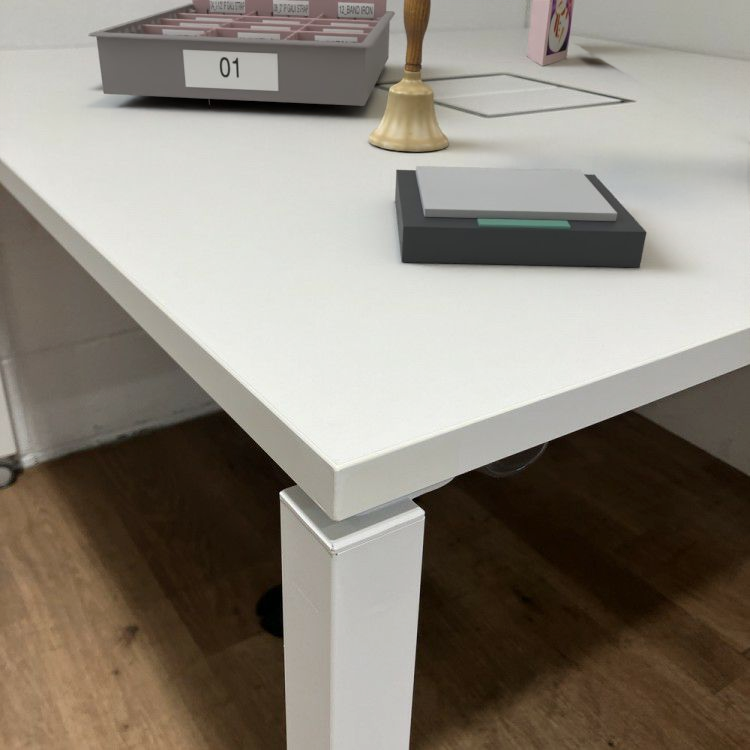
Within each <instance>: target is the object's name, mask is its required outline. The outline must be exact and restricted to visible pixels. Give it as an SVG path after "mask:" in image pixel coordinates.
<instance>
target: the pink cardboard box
mask: <svg viewBox="0 0 750 750" xmlns="http://www.w3.org/2000/svg"><path fill="white" fill-rule="evenodd" d="M574 5H575V0H532V5H531V14H530V22H529V30H528V31H529V32H528V41H527V50H526V57H527V56H528V57H527V58H529V59H530V58H531V59H530V60H532V61H534V62H535V63H537V64H538V65H540V66H541V67H544V66H548V65H550V64H553V63H558V62H560V61H563V60H566V59H567V58H568V51H569V45H570V36H571V29H572V20H573V15H574V14H573V13H574V7H575V6H574Z"/></svg>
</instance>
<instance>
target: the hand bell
mask: <svg viewBox="0 0 750 750" xmlns="http://www.w3.org/2000/svg"><path fill="white" fill-rule="evenodd" d="M431 1H432V0H403V25H404V31H405V37H406V51H405V59H404V60H405V61H404V62H405V63H404V70H403V78H402V79H401V80H400V81H399V82H397V83H396V84H394V85H391V86H390V88H389V90H388V96H387V100H386V101H387V102H386V107H385V110H384V113H383V116H382V119H381V121H380V122H379V124H378V126H377V127H376V128H375V129H374V130H373V131H372V132H371V133H370V134H369V137H368V143H370V144H371V145H373V146H374V147H378V148H381V149H386V150H391V151H398V152H399V151H400V152H415V153H419V152H421V153H422V152H431V151H433V152H434V151H438V150H442V149H445V148H447V147H448V146H449V144H450V141H449V139H448V137H447V136H446V134H445V133H443V131H442V129H441V127H440V126H439V123H438V119H437V115H436V109H435V97H434V96H435V93H434V89H433V88H432V87H431V86H428V85H427V84H426V83H424V82H423V80H422V72H421V71H422V69H423V65H422V63H423V43H424V39H425V35H426V32H427V29H428V25H429V22H430V17H431V5H432V2H431Z"/></svg>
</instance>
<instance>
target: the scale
mask: <svg viewBox="0 0 750 750" xmlns="http://www.w3.org/2000/svg"><path fill="white" fill-rule="evenodd" d="M394 194H395V195H394V202H395V212H396V221H397V232H398V240H399V241H398V242H399V249H400V250H399V251H400V259H401V263H419V264H421V263H423V264H424V263H425V264H469V265H470V264H473V265H508V266H509V265H512V266H513V265H515V266H559V267H560V266H561V267H603V268H604V267H605V268H606V267H607V268H640V267H641V262H642V258H643V253H644V248H645V243H646V238H647V231H646V230H645V229H644V227H643V226H642V225H641V224H640V223H639V222H638V220H636V219H635V217H634V216H633V215H632V214H631V213H630V212H629V211H628V210H627V209H626V208H625V206H624V205H623V204H622V203H621V202H620V201H619V200H618V199H617V198H616V197H615V196H614V194H613V193H612V192H611V191H610V190H609V189H608V188H607V187H606V185H605V184H604V183H603V182H602V181H601V180H600V179H599V177H597V176H596V174H591V173H590V174H586V173H583V172H582V171H581V169H559V168H558V169H553V168H519V167H517V168H516V167H477V166H476V167H473V166H437V165H436V166H434V165H415V169H396V170H395V193H394Z"/></svg>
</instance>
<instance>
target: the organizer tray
mask: <svg viewBox="0 0 750 750" xmlns="http://www.w3.org/2000/svg"><path fill="white" fill-rule="evenodd" d="M387 1H388V0H191V2H192V3H191V2H190V3H186V4H183V5H179V6H176V7H173V8H169V9H166V10H163V11H159V12H156V13H153V14H149V15H146V16H143V17H139V18H136V19H132V20H129V21H126V22H123V23H119V24H115V25H113V26H110V27H105V28H103V29H100V30H95V31H92V32H89V33H88V35H87V36H88V37H92V38H93V37H95V38H96V44H97V52H98V60H99V68H100V76H101V84H102V85H101V86H102V92H103V94H104V95H118V96H119V95H120V96H121V95H123V96H125V95H126V96H144V97H164V98H183V99H184V98H185V99H187V98H188V99H208V105H210V106H211V101H210V100H228V101H229V100H230V101H252V102H253V101H254V102H275V103H296V104H316V105H317V104H318V105H338V106H339V105H341V106H361V107H364V106H365V105H366V103H367V102H368V101H369V100H368V99H369V97H370V95H371V93H372V92H373V89H374V88H375V86H376V84H377V82H378V81H379V80H378V79H379V77H380V75H381V74H382V71H383V70H384V68H385V66H386V63H387V61H388V59H389V55H390V54H389V53H390V52H389V50H390V25H391V24H390V22H391V21H392V19H393V17H394V16H395V14H396V13H395V11H393V10H387Z"/></svg>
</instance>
